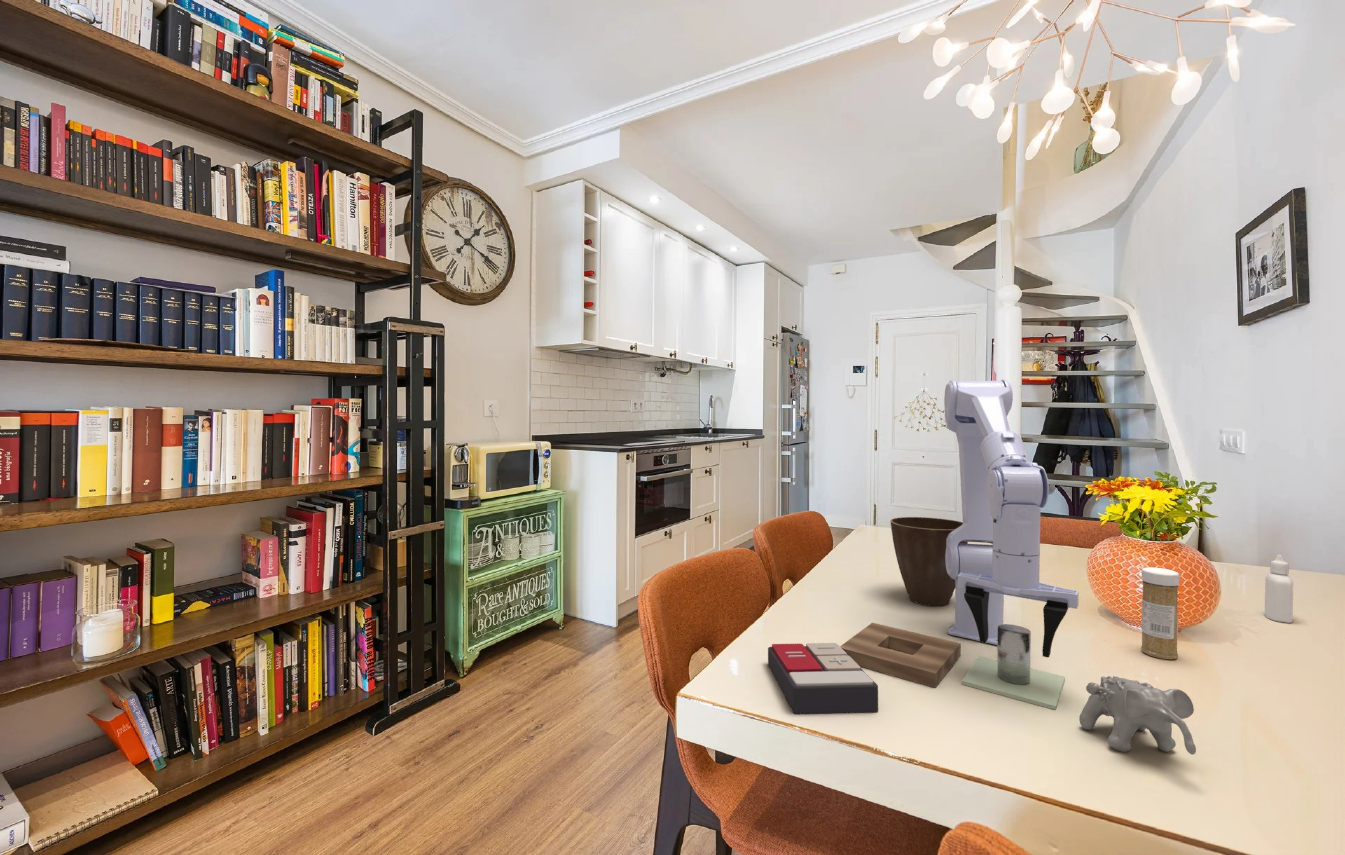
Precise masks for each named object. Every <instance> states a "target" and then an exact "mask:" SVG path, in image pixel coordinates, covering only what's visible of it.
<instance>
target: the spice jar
mask: <svg viewBox="0 0 1345 855" xmlns="http://www.w3.org/2000/svg"><path fill="white" fill-rule="evenodd" d="M1141 583H1142V600H1141V635H1142V636H1141V647H1140V650H1141V652H1143V653H1144V654H1146V655H1147V656H1151V657H1152V658H1153V657H1154V658H1156V659H1163V660H1176V659H1177V658H1178V656H1179V654H1178V638H1179V637H1178V636H1179V617H1178V615H1179V614H1178V608H1179V606H1178V605H1179V602H1178V601H1179V600H1178V598H1179V597H1178V596H1179V595H1178V593H1179V592H1178V591H1179V589H1178V588H1179V585H1180V574H1179V572H1177V571H1174V570H1171V569H1167V568H1162V567H1161V568H1160V567H1153V566H1151V567H1144V568H1142V569H1141Z"/></svg>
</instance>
